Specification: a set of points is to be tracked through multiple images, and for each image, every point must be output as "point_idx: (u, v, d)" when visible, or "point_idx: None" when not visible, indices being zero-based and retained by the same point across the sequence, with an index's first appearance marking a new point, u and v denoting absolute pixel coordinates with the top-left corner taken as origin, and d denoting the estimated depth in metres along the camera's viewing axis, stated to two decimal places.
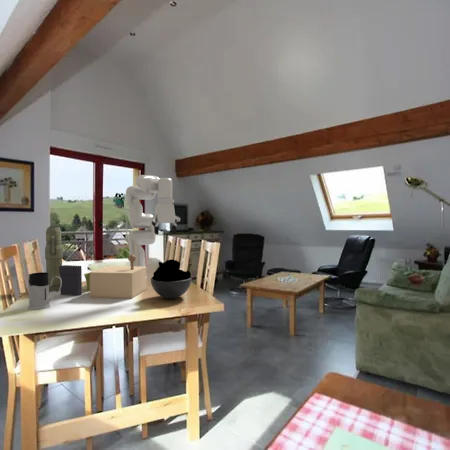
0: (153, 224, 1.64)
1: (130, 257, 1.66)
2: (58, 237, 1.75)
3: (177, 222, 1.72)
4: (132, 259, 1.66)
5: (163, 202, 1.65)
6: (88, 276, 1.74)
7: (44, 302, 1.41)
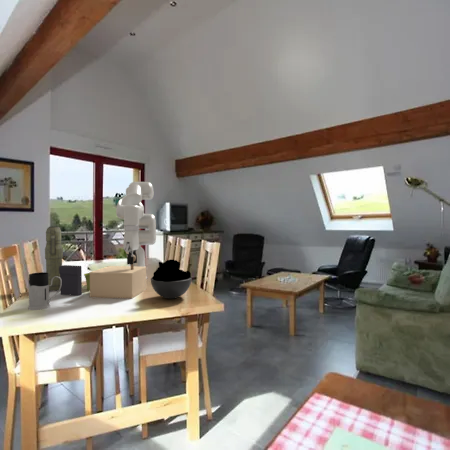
0: (130, 254, 1.63)
1: None
2: (58, 237, 1.75)
3: (136, 251, 1.71)
4: None
5: (135, 230, 1.64)
6: (88, 276, 1.74)
7: (44, 302, 1.41)
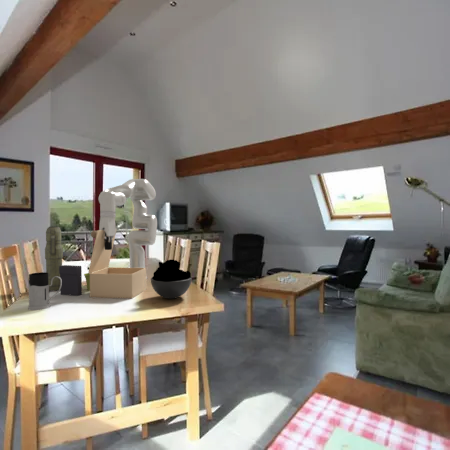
0: (107, 240, 1.66)
1: (92, 234, 1.67)
2: (58, 237, 1.75)
3: (111, 237, 1.71)
4: (94, 233, 1.67)
5: (111, 215, 1.66)
6: (88, 276, 1.74)
7: (44, 302, 1.41)
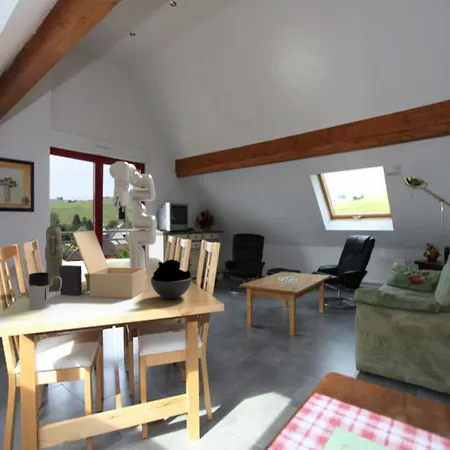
0: (121, 209, 1.69)
1: (73, 244, 1.69)
2: (58, 237, 1.75)
3: None
4: (74, 241, 1.69)
5: (125, 185, 1.69)
6: (88, 276, 1.74)
7: (44, 302, 1.41)
